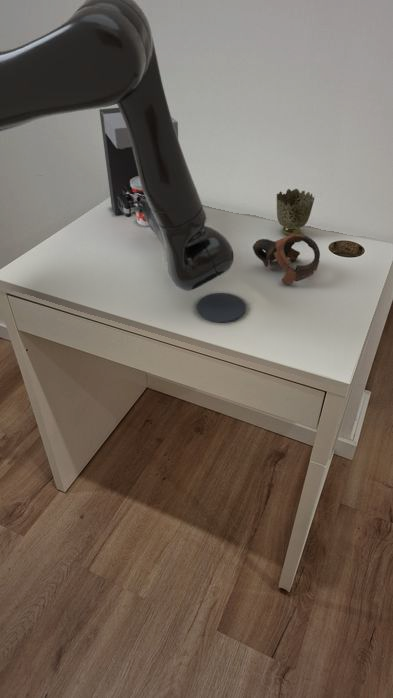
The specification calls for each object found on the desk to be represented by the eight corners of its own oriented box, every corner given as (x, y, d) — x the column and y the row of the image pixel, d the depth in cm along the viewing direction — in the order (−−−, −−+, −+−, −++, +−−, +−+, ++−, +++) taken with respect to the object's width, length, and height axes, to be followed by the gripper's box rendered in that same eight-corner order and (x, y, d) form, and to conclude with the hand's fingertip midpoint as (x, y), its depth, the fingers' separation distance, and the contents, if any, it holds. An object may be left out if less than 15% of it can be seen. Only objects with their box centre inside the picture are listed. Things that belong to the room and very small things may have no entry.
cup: (287, 244, 97) (291, 206, 91) (265, 230, 101) (269, 193, 96) (316, 235, 99) (322, 198, 94) (294, 222, 104) (298, 186, 99)
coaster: (192, 319, 77) (192, 317, 77) (203, 292, 83) (203, 290, 83) (241, 325, 76) (241, 323, 76) (248, 298, 82) (248, 296, 82)
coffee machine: (181, 226, 103) (177, 121, 90) (126, 235, 100) (114, 128, 87) (161, 200, 114) (156, 103, 100) (111, 208, 111) (99, 109, 97)
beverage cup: (132, 216, 107) (126, 152, 98) (159, 214, 108) (155, 149, 99) (135, 228, 102) (128, 162, 93) (163, 225, 103) (159, 159, 94)
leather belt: (310, 260, 92) (328, 236, 85) (303, 302, 89) (320, 281, 81) (251, 242, 92) (263, 216, 84) (241, 283, 88) (253, 260, 81)
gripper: (206, 193, 87) (178, 164, 99) (129, 204, 83) (110, 173, 95) (205, 231, 92) (179, 199, 104) (133, 243, 88) (114, 209, 100)
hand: (146, 186), depth 99 cm, fingers open, 8 cm apart
